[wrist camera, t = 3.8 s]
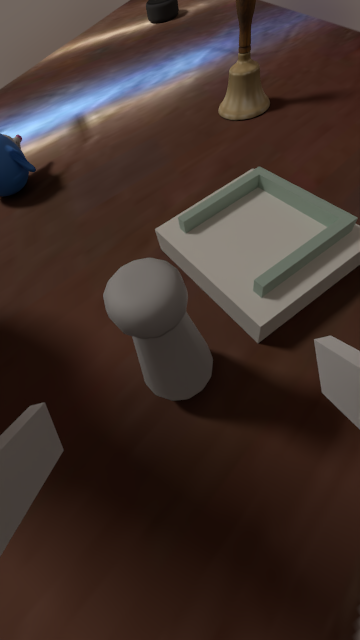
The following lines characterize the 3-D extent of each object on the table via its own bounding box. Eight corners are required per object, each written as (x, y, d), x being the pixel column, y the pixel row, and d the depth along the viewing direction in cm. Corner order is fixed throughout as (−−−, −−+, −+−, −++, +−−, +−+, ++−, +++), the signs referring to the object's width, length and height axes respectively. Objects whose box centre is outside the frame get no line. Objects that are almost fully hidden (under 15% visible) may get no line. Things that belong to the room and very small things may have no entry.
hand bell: (214, 103, 49) (206, -43, 36) (262, 91, 48) (272, -63, 35) (223, 125, 45) (217, -31, 31) (275, 113, 44) (293, -53, 30)
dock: (161, 249, 33) (151, 218, 29) (251, 191, 35) (253, 155, 32) (257, 343, 25) (261, 317, 21) (366, 259, 27) (387, 222, 23)
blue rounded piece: (65, 160, 48) (35, 103, 41) (33, 207, 42) (-8, 150, 35) (8, 163, 51) (-29, 110, 44) (-29, 207, 45) (-79, 155, 38)
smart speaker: (165, 12, 83) (162, -8, 80) (185, 13, 79) (183, -8, 76) (142, 23, 81) (138, 3, 78) (161, 26, 77) (158, 5, 74)
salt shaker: (168, 421, 23) (105, 359, 12) (139, 365, 26) (67, 274, 15) (228, 383, 23) (222, 291, 12) (193, 333, 26) (163, 224, 15)
